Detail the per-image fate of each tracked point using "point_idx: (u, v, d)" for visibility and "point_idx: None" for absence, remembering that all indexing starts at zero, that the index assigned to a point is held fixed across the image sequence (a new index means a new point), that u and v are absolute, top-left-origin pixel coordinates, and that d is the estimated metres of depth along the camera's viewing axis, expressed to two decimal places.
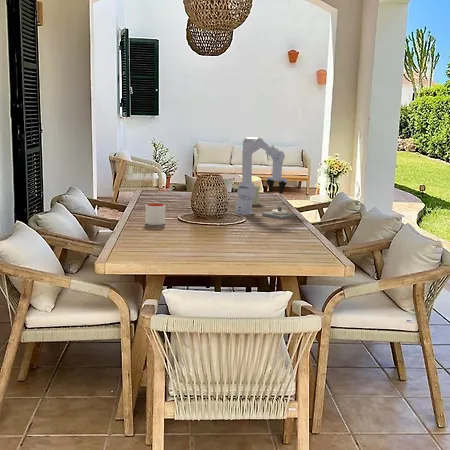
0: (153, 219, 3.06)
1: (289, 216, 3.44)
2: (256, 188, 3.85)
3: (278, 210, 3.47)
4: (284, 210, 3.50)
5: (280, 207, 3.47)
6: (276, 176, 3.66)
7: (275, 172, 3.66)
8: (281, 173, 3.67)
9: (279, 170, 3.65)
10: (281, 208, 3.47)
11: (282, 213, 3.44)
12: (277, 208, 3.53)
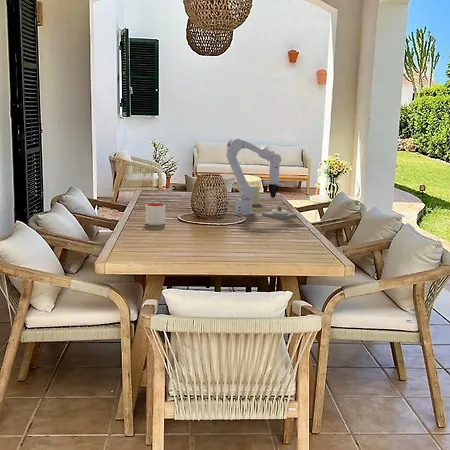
0: (153, 219, 3.06)
1: (289, 216, 3.44)
2: (256, 188, 3.85)
3: (278, 210, 3.47)
4: (284, 210, 3.50)
5: (280, 207, 3.47)
6: (273, 180, 3.50)
7: (272, 176, 3.50)
8: (278, 177, 3.51)
9: (273, 174, 3.49)
10: (281, 208, 3.47)
11: (282, 213, 3.44)
12: (277, 208, 3.53)
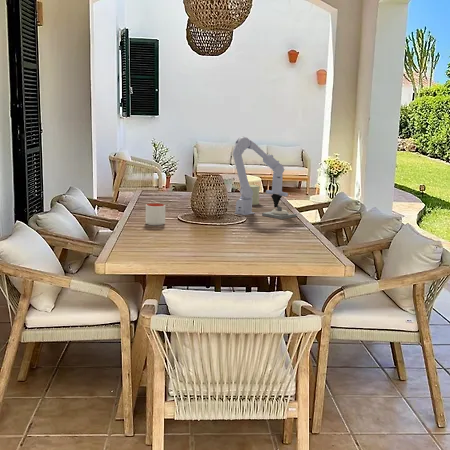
0: (153, 219, 3.06)
1: (289, 216, 3.44)
2: (256, 188, 3.85)
3: (278, 210, 3.47)
4: (284, 210, 3.50)
5: (280, 207, 3.47)
6: (276, 190, 3.49)
7: (275, 186, 3.49)
8: (281, 187, 3.51)
9: (276, 184, 3.49)
10: (281, 208, 3.47)
11: (282, 213, 3.44)
12: (277, 208, 3.53)
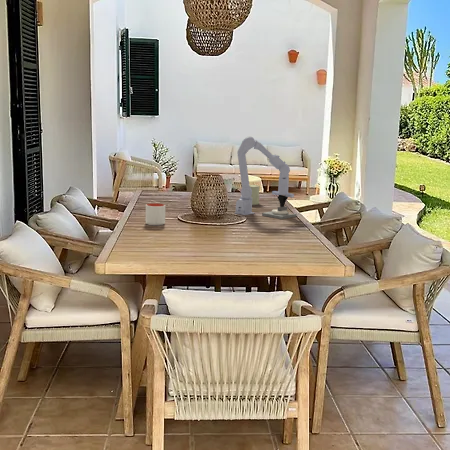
0: (153, 219, 3.06)
1: (289, 216, 3.44)
2: (256, 188, 3.85)
3: (277, 210, 3.48)
4: (285, 211, 3.47)
5: (279, 207, 3.47)
6: (282, 191, 3.46)
7: (281, 187, 3.46)
8: None
9: (281, 184, 3.46)
10: (280, 208, 3.47)
11: (276, 213, 3.44)
12: None
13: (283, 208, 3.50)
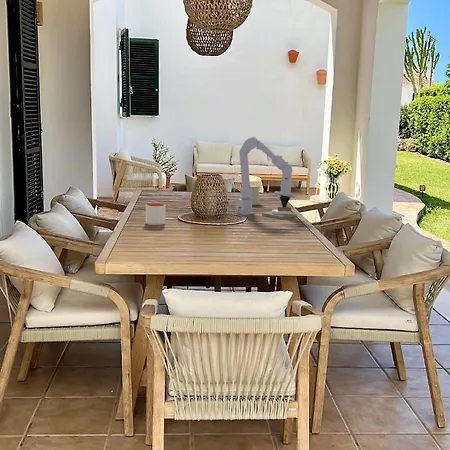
0: (153, 219, 3.06)
1: (289, 216, 3.44)
2: (256, 188, 3.85)
3: (277, 210, 3.49)
4: (283, 211, 3.45)
5: (278, 207, 3.47)
6: (285, 191, 3.45)
7: (284, 187, 3.45)
8: (290, 188, 3.47)
9: (284, 185, 3.45)
10: (278, 208, 3.47)
11: (272, 212, 3.46)
12: None
13: (284, 209, 3.48)
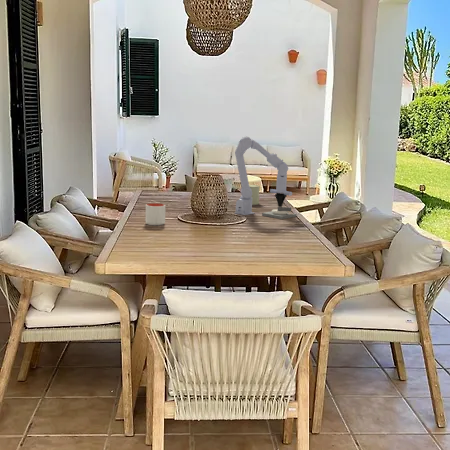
0: (153, 219, 3.06)
1: (289, 216, 3.44)
2: (256, 188, 3.85)
3: (277, 209, 3.49)
4: (282, 211, 3.45)
5: (278, 207, 3.47)
6: (280, 189, 3.47)
7: (279, 185, 3.47)
8: None
9: (280, 183, 3.47)
10: (278, 208, 3.47)
11: (272, 212, 3.47)
12: None
13: (284, 209, 3.47)
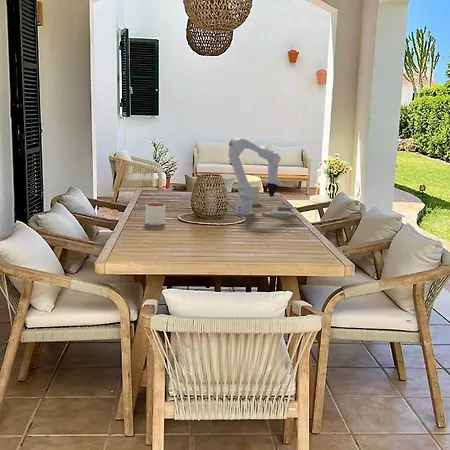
0: (153, 219, 3.06)
1: (289, 216, 3.44)
2: (256, 188, 3.85)
3: (277, 209, 3.49)
4: (282, 211, 3.45)
5: (278, 207, 3.47)
6: (272, 179, 3.54)
7: (271, 175, 3.54)
8: None
9: (273, 173, 3.53)
10: (278, 208, 3.47)
11: (272, 212, 3.47)
12: None
13: (284, 209, 3.47)
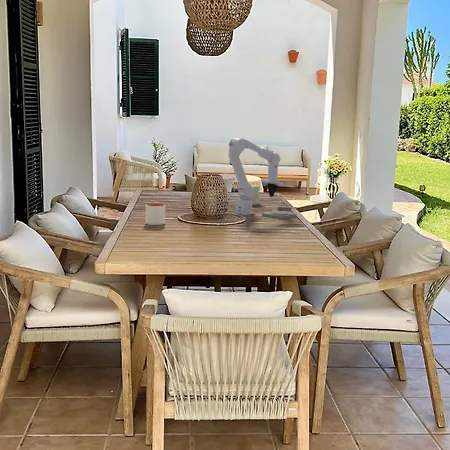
0: (153, 219, 3.06)
1: (289, 216, 3.44)
2: (256, 188, 3.85)
3: (277, 209, 3.49)
4: (282, 211, 3.45)
5: (278, 207, 3.47)
6: (272, 179, 3.54)
7: (271, 175, 3.54)
8: None
9: (273, 173, 3.53)
10: (278, 208, 3.47)
11: (272, 212, 3.47)
12: None
13: (284, 209, 3.47)
